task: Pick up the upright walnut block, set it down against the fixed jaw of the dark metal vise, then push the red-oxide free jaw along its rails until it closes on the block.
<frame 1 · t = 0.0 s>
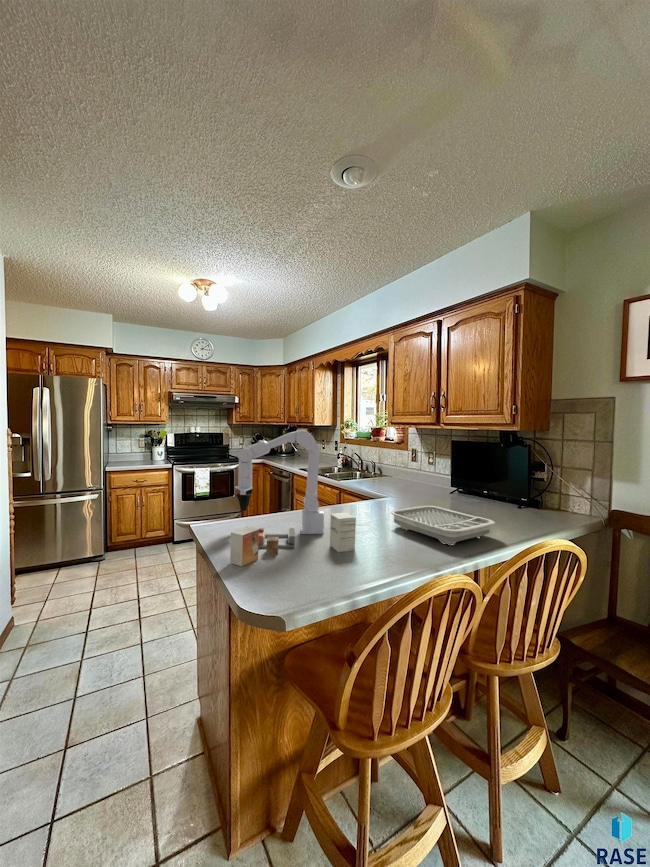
hand: (244, 508, 149), 10 cm above the worktop, fingers open, 7 cm apart
vise body: (276, 542, 138), on the worktop
walnut block: (272, 552, 127), on the worktop
dish rack: (439, 533, 155), on the worktop
supplement box: (342, 548, 133), on the worktop
free jaw: (261, 535, 137), point 3 cm above the worktop, slide at 0.0 cm
small box: (244, 561, 119), on the worktop
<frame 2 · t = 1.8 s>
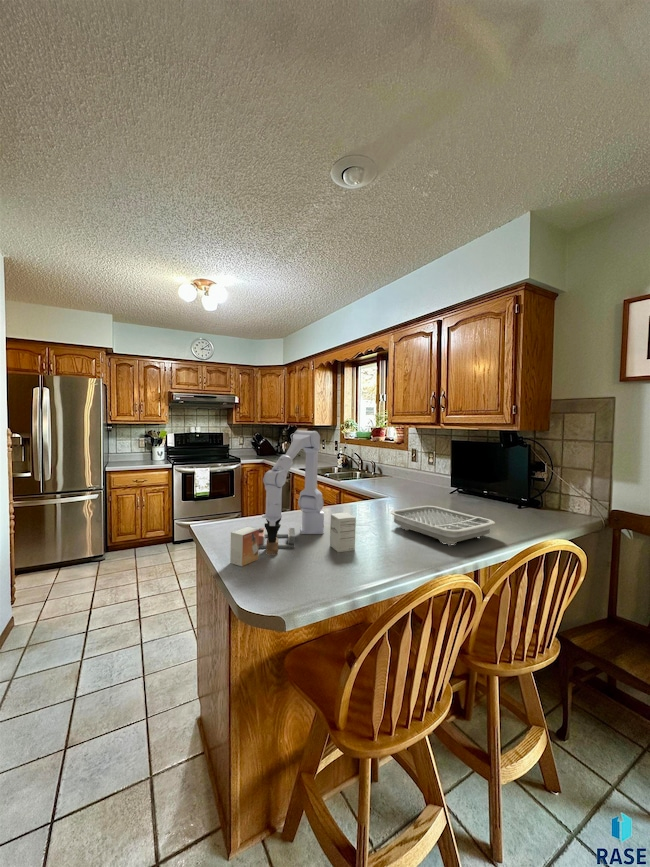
hand: (272, 540, 129), 4 cm above the worktop, fingers open, 6 cm apart
walnut block: (272, 554, 127), on the worktop, touching gripper
everything else where it was.
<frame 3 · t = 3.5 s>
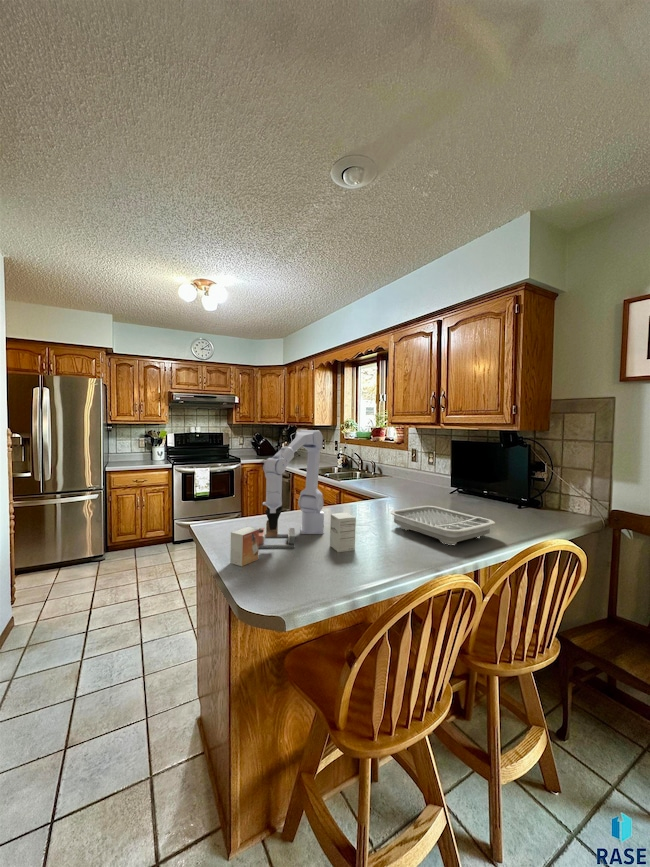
hand: (273, 527, 129), 8 cm above the worktop, fingers closed on walnut block, 4 cm apart
walnut block: (271, 535, 129), point 5 cm above the worktop, touching gripper
everything else where it was.
when the fingers open (3 cm above the worktop, at t = 5.6 s): walnut block stays where it is, on the worktop.
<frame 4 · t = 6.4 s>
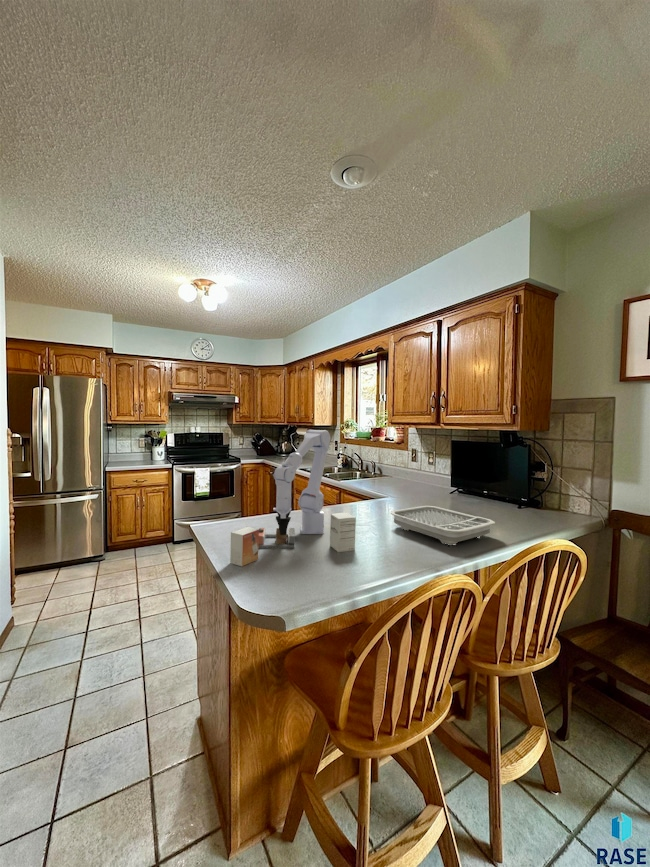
hand: (283, 531, 138), 4 cm above the worktop, fingers open, 7 cm apart
walnut block: (281, 542, 138), on the worktop
everything else where it was.
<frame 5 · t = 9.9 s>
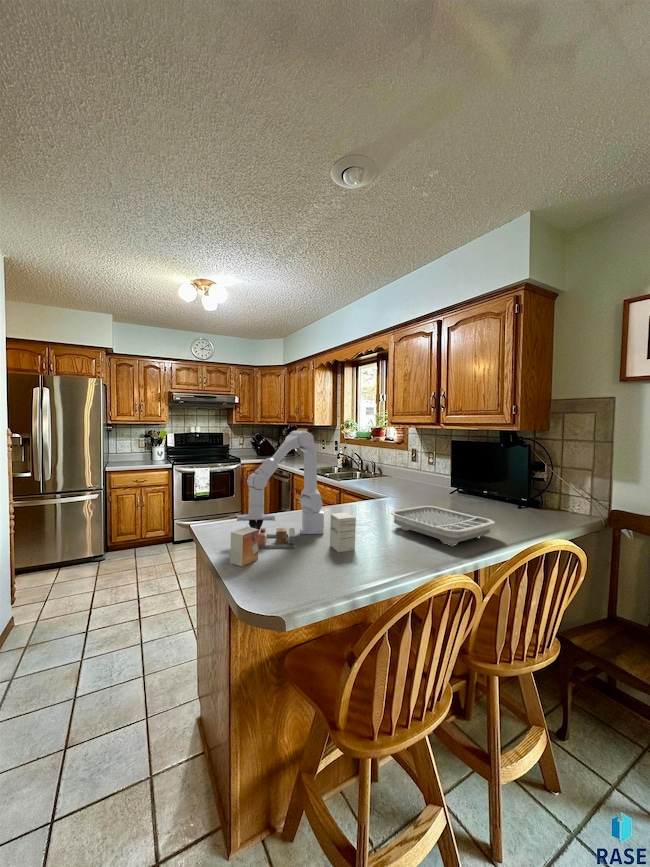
hand: (255, 538, 137), 1 cm above the worktop, fingers closed
free jaw: (263, 535, 137), point 3 cm above the worktop, slide at 0.7 cm, touching gripper
everything else where it was.
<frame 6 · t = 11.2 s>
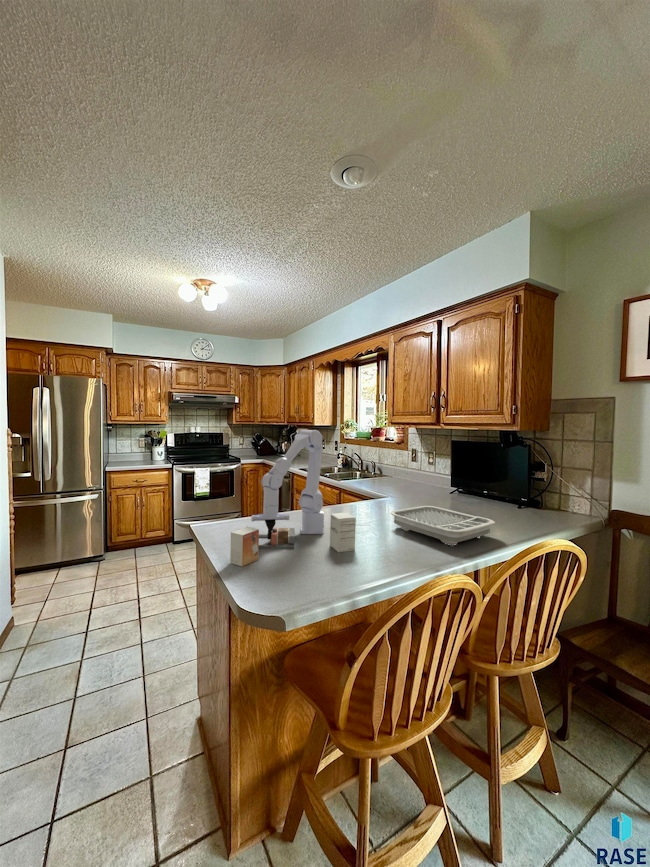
hand: (269, 538, 137), 1 cm above the worktop, fingers closed, pressing on free jaw
walnut block: (283, 542, 138), on the worktop, touching free jaw, vise body
free jaw: (275, 535, 137), point 3 cm above the worktop, slide at 5.2 cm, touching gripper, walnut block
everything else where it was.
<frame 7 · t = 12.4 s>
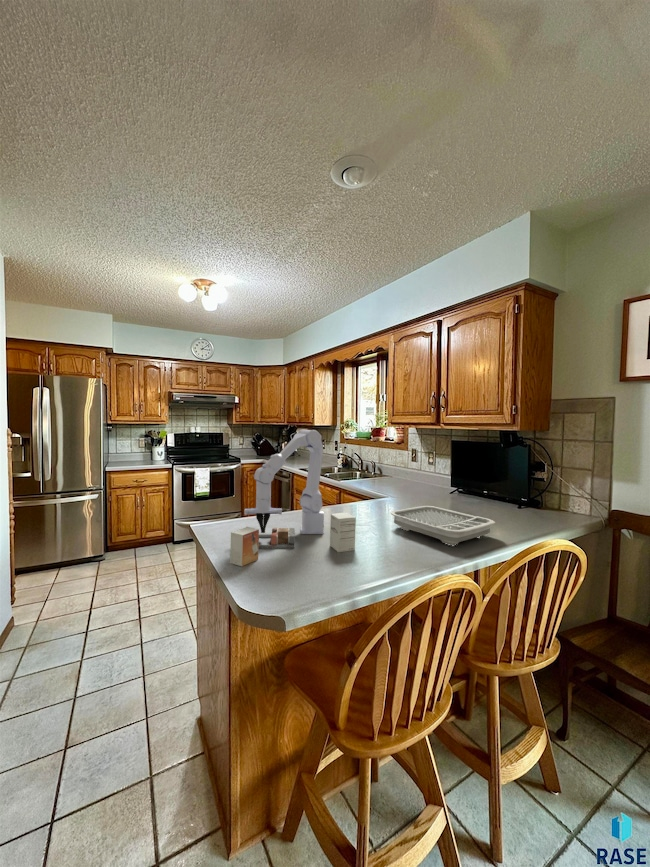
hand: (263, 532, 139), 3 cm above the worktop, fingers closed
walnut block: (283, 542, 138), on the worktop, touching free jaw
free jaw: (274, 535, 137), point 3 cm above the worktop, slide at 5.2 cm, touching walnut block
everything else where it was.
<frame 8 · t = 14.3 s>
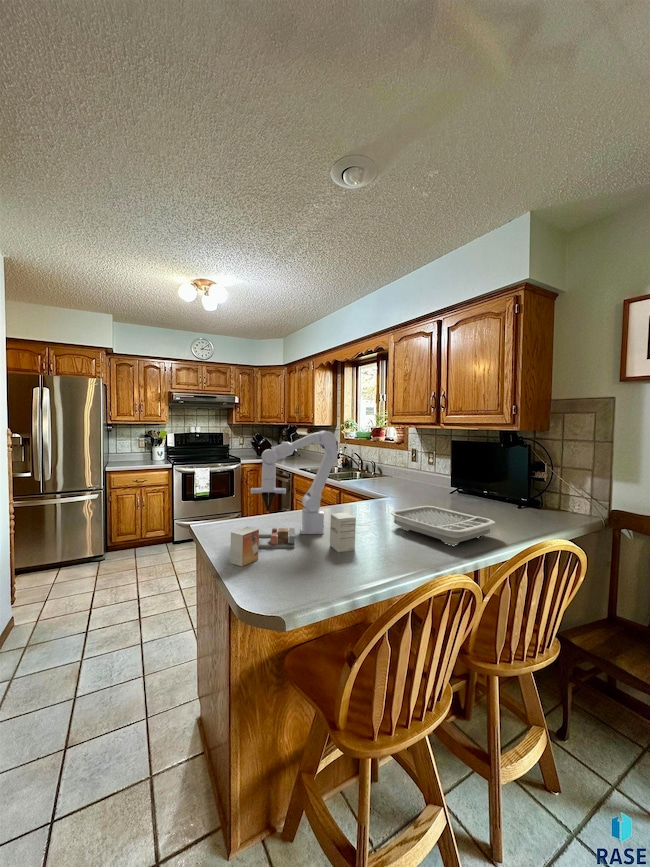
hand: (268, 510, 147), 10 cm above the worktop, fingers closed
walnut block: (283, 542, 138), on the worktop
free jaw: (274, 535, 137), point 3 cm above the worktop, slide at 5.2 cm
everything else where it was.
at the end: walnut block 0.6 cm from the target spot, on the worktop; walnut block tilted 0°; free jaw slide at 5.2 cm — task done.
